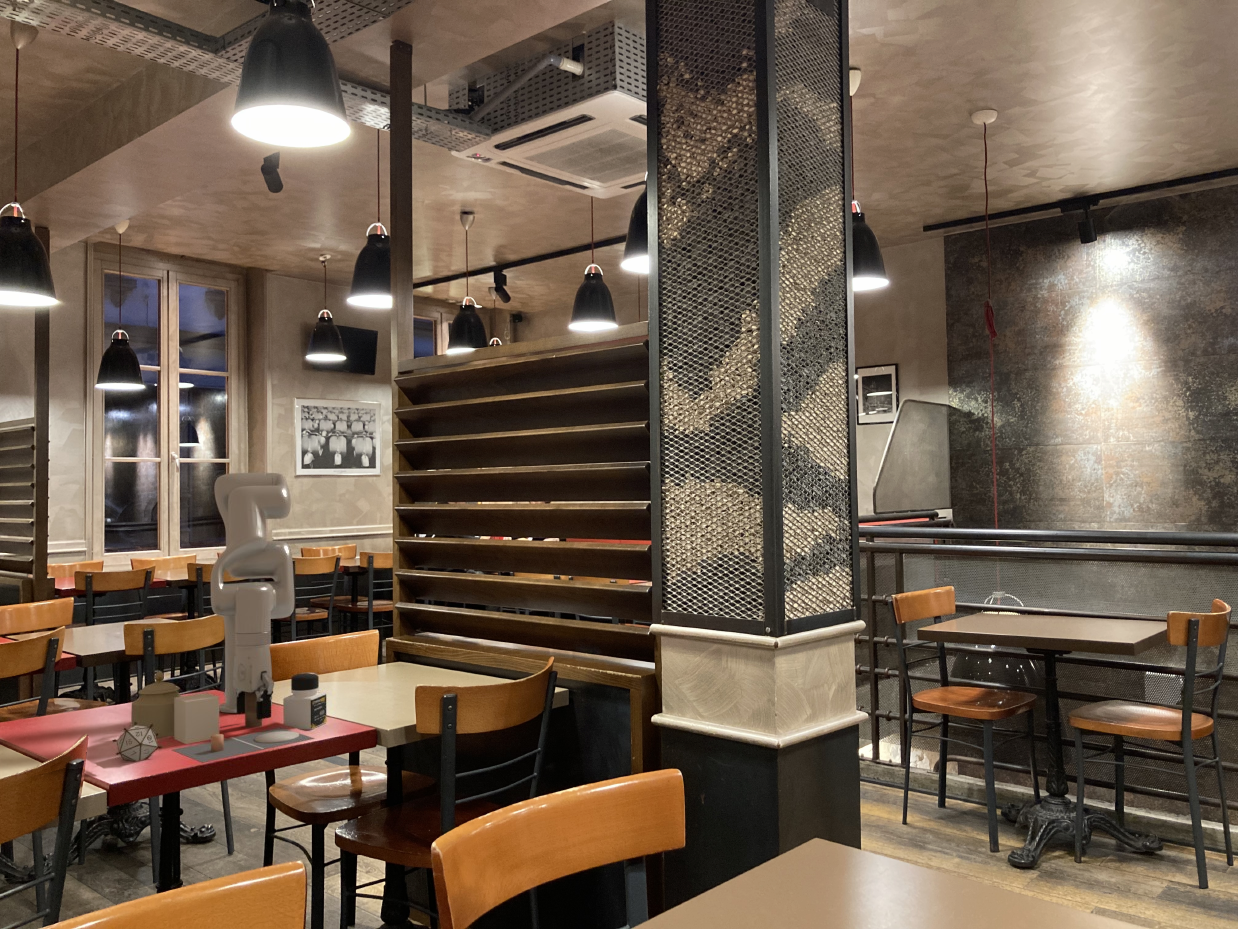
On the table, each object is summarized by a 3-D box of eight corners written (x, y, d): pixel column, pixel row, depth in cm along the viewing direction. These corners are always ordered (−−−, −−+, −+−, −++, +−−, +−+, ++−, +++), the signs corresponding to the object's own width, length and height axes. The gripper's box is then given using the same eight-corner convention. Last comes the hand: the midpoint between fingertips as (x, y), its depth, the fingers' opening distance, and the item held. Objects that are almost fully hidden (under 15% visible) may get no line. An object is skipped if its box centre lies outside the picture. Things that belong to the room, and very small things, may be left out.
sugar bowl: (111, 739, 211) (111, 671, 212) (157, 728, 221) (157, 663, 221) (150, 747, 203) (150, 676, 204) (196, 735, 213) (196, 668, 213)
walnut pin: (242, 731, 216) (242, 691, 216) (257, 728, 219) (257, 689, 219) (249, 733, 213) (249, 693, 214) (264, 730, 216) (264, 691, 216)
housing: (174, 744, 205) (185, 749, 201) (174, 697, 206) (185, 702, 201) (207, 738, 210) (219, 743, 205) (207, 692, 211) (219, 696, 206)
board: (171, 755, 196) (171, 735, 196) (281, 733, 213) (280, 714, 214) (202, 768, 186) (202, 747, 186) (315, 744, 203) (314, 724, 203)
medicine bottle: (311, 730, 216) (311, 677, 216) (282, 729, 217) (282, 676, 218) (327, 723, 223) (326, 671, 223) (299, 722, 224) (299, 671, 225)
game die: (131, 781, 191) (127, 735, 196) (172, 764, 192) (167, 719, 197) (105, 770, 183) (102, 723, 189) (148, 753, 184) (143, 706, 190)
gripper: (220, 639, 220) (220, 714, 219) (255, 644, 208) (255, 723, 207) (251, 635, 225) (251, 708, 224) (287, 640, 214) (287, 717, 213)
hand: (253, 715), depth 216 cm, fingers open, 9 cm apart
